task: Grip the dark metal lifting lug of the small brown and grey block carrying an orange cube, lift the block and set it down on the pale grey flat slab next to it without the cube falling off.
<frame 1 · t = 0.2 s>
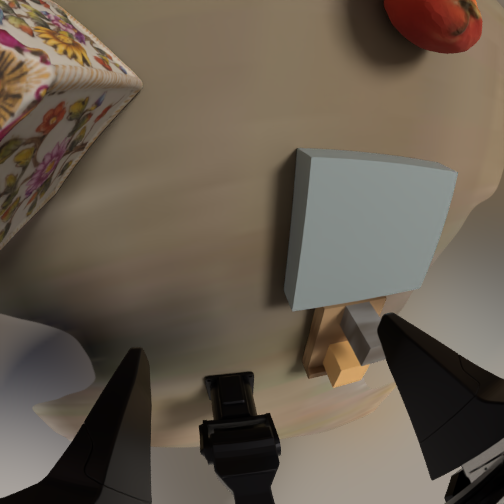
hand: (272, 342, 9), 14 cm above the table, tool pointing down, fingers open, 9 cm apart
orange cube: (340, 351, 33), point 2 cm above the table
decorative jar: (50, 97, 14), on the table
tomato: (404, 9, 14), on the table
pale grey flat slab: (368, 224, 25), on the table
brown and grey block: (338, 326, 33), on the table
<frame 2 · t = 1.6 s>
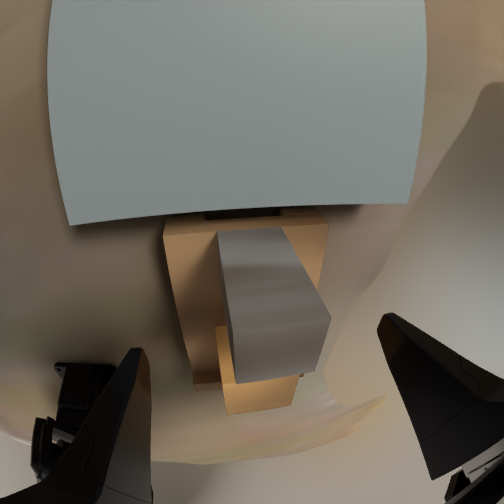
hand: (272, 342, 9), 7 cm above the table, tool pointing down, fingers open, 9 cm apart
orange cube: (248, 343, 17), point 2 cm above the table, touching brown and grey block
pale grey flat slab: (244, 46, 10), on the table
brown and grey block: (243, 296, 18), on the table, touching orange cube
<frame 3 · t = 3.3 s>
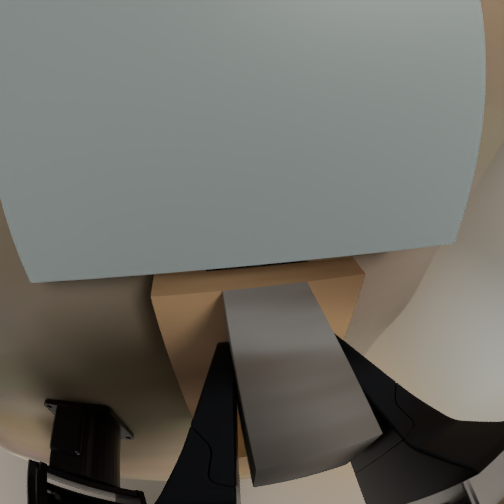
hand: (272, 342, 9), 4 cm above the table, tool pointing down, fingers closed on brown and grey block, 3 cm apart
orange cube: (258, 398, 14), point 2 cm above the table, touching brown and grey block
pale grey flat slab: (257, 31, 7), on the table
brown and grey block: (252, 345, 15), on the table, touching orange cube, gripper
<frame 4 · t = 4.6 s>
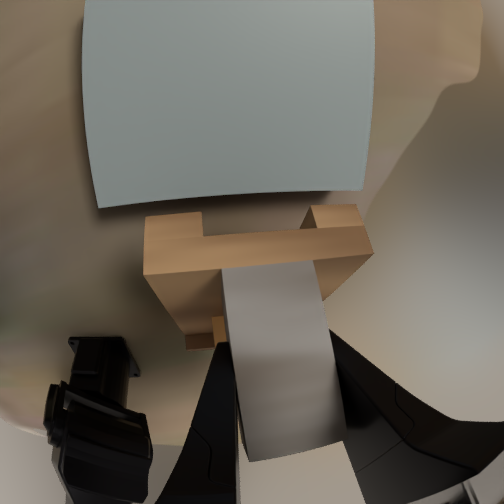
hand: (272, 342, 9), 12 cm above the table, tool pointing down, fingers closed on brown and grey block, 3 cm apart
orange cube: (246, 321, 16), point 6 cm above the table, tilted 31°, touching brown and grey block
pale grey flat slab: (229, 72, 14), on the table
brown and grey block: (244, 272, 15), point 5 cm above the table, tilted 31°, touching orange cube, gripper
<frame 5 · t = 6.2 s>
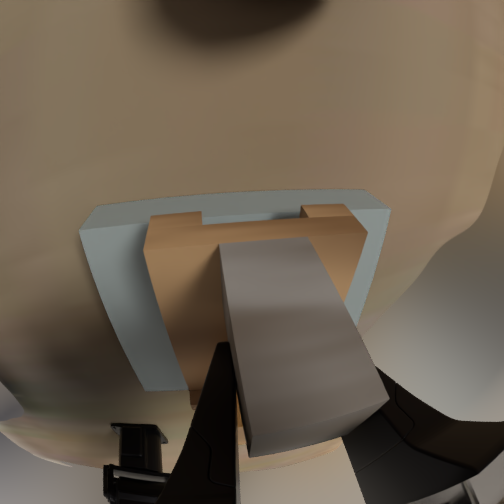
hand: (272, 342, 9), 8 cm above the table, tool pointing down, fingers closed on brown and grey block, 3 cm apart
pale grey flat slab: (238, 292, 19), on the table
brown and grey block: (248, 308, 15), point 4 cm above the table, tilted 6°, touching orange cube, gripper
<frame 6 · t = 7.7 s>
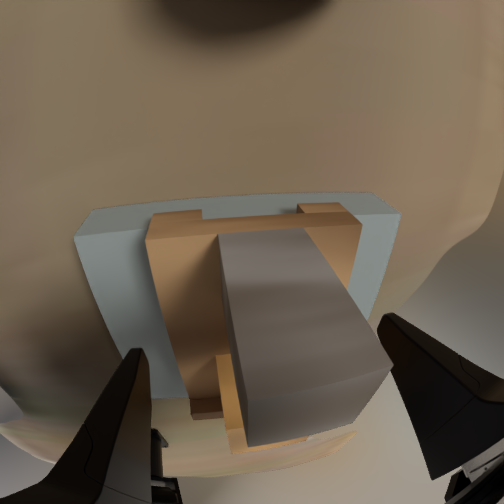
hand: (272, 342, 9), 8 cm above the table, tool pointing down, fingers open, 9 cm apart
orange cube: (255, 372, 14), point 5 cm above the table, touching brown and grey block
pale grey flat slab: (241, 298, 18), on the table
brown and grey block: (249, 312, 15), point 3 cm above the table, touching orange cube, pale grey flat slab
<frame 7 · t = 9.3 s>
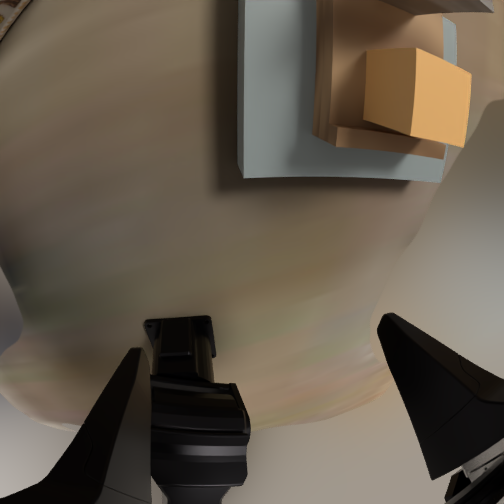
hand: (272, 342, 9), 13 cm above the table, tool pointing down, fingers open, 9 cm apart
orange cube: (394, 90, 12), point 5 cm above the table, touching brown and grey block
pale grey flat slab: (351, 74, 16), on the table
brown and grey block: (375, 51, 12), point 3 cm above the table, touching orange cube, pale grey flat slab
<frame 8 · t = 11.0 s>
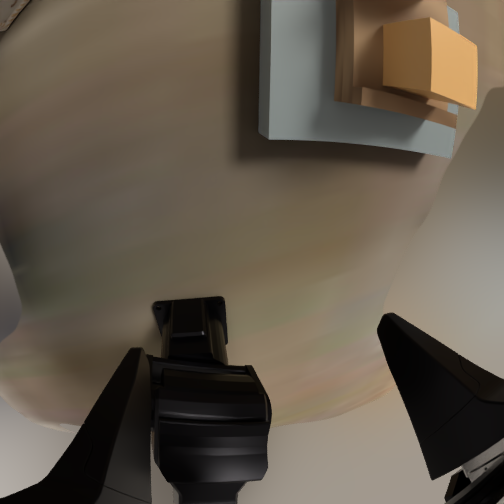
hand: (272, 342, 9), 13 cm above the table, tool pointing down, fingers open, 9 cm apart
orange cube: (409, 62, 11), point 5 cm above the table, touching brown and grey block
pale grey flat slab: (365, 53, 15), on the table
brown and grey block: (388, 30, 12), point 3 cm above the table, touching orange cube, pale grey flat slab
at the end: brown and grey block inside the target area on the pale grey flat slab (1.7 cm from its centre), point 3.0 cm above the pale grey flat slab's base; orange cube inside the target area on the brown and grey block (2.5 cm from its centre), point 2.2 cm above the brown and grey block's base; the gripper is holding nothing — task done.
